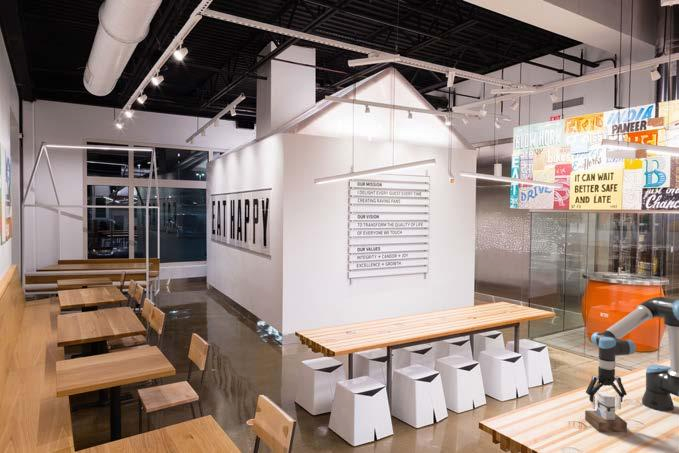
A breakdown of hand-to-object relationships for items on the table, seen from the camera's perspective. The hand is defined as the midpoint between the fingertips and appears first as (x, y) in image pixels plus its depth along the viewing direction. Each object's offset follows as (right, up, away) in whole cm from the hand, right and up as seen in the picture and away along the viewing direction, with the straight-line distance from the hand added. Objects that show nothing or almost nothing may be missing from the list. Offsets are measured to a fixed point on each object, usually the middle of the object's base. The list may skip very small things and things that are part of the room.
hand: (605, 407), depth 241 cm
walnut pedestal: (0, -10, 0) cm, 10 cm away
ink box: (0, -5, 0) cm, 5 cm away
